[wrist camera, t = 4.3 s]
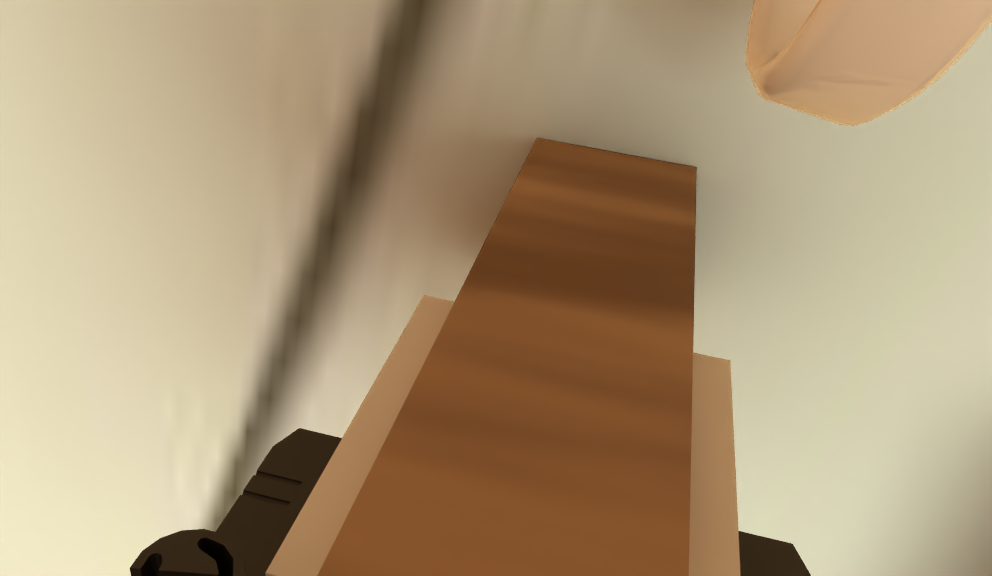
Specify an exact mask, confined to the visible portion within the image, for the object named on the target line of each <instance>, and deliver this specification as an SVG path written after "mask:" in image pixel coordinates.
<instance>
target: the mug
mask: <svg viewBox="0 0 992 576" xmlns="http://www.w3.org/2000/svg"><path fill="white" fill-rule="evenodd" d="M991 21H992V0H754V4H753V9H752V13H751V17H750V22H749V28H748V34H747V43H746V65H747V68H748V71H749V74H750V76H751V79H752V81H753V83H754V86H755V88H756V91H757V93H758V95H760V96H761V97H762V98H763V99H765V100H768V101H771V102H774V103H777V104H780V105H782V106H785V107H788V108H791V109H794V110H797V111H800V112H803V113H806V114H809V115H812V116H815V117H818V118H821V119H824V120H827V121H830V122H833V123H836V124H839V125H847V126H855V125H858V124H861V123H865V122H868V121H871V120H873V119H875V118H877V117H879V116H881V115H883V114H885V113H887V112H890V111H892V110H894V109H896V108H897V107H899V106H901V105H903V104H904V103H906V102H908V101H909V100H911V99H913V98H915V97H916V96H917V95H918V94H920V93H921V92H922V91H924V90H925V89H926V88H927V87H929V86H930V85H931V84H932V83H934V82H935V81H936V80H937V79H939V78H940V77H941V76H942V75H943V74H944V73H945V72H946V71H947V70H948V69H949V68H950V67H951V66H952V65H953V64H954V63H955V62H956V61H957V60H958V59H959V58H960V57H961V56H962V55H963V54H964V53H965V52H966V50H967V49H968V48H969V47H970V46H971V45H972V43H973V42H974V41H975V40H976V39H977V38H978V36H979V35H980V34H981V33H982V32H983V30H984V29H985V28H986V27H987V26H988V25H989V23H990V22H991Z"/></svg>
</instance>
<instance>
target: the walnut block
mask: <svg viewBox="0 0 992 576" xmlns="http://www.w3.org/2000/svg"><path fill="white" fill-rule="evenodd" d="M696 171H697V167H691V166H686V165H681V164H675V163H670V162H664V161H659V160H654V159H648V158H643V157H637V156H632V155H627V154H621V153H616V152H610V151H605V150H600V149H594V148H589V147H583V146H578V145H573V144H567V143H562V142H556V141H551V140H546V139H540V138H537V139H536V141H535V143H534V145H533V147H532V149H531V151H530V153H529V155H528V157H527V159H526V161H525V163H524V165H523V167H522V169H521V171H520V173H519V175H518V177H517V179H516V181H515V183H514V185H513V187H512V189H511V191H510V193H509V195H508V197H507V199H506V201H505V203H504V205H503V207H502V209H501V211H500V213H499V215H498V217H497V219H496V221H495V223H494V225H493V227H492V229H491V231H490V233H489V235H488V237H487V239H486V240H485V242H484V244H483V246H482V248H481V250H480V252H479V254H478V256H477V258H476V260H475V262H474V264H473V266H472V268H471V270H470V272H469V274H468V276H467V278H466V280H465V282H464V284H463V286H462V288H461V290H460V292H459V294H458V296H457V298H456V300H455V302H454V304H453V306H452V308H451V310H450V312H449V314H448V316H447V318H446V320H445V322H444V324H443V326H442V328H441V330H440V332H439V334H438V336H437V338H436V340H435V342H434V344H433V346H432V348H431V350H430V352H429V354H428V356H427V358H426V360H425V362H424V364H423V366H422V368H421V370H420V372H419V374H418V376H417V378H416V380H415V382H414V384H413V386H412V388H411V390H410V392H409V394H408V396H407V398H406V400H405V402H404V404H403V406H402V408H401V410H400V412H399V414H398V416H397V418H396V420H395V422H394V424H393V426H392V428H391V430H390V432H389V434H388V436H387V438H386V440H385V442H384V444H383V446H382V448H381V450H380V452H379V454H378V456H377V458H376V460H375V462H374V464H373V466H372V468H371V470H370V472H369V474H368V476H367V478H366V480H365V482H364V484H363V486H362V488H361V490H360V491H359V493H358V495H357V497H356V499H355V501H354V503H353V505H352V507H351V509H350V511H349V513H348V515H347V517H346V519H345V521H344V523H343V525H342V527H341V529H340V531H339V533H338V535H337V537H336V539H335V541H334V543H333V545H332V547H331V549H330V551H329V553H328V555H327V557H326V559H325V561H324V563H323V565H322V567H321V569H320V571H319V573H318V575H317V576H689V537H690V485H691V433H692V381H693V328H694V276H695V224H696Z"/></svg>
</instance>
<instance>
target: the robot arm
mask: <svg viewBox="0 0 992 576" xmlns="http://www.w3.org/2000/svg"><path fill="white" fill-rule="evenodd" d="M453 304H454V302H453V301H448V300H443V299H439V298H434V297H429V296H425V295H424V296H423V298H422V299H421V301H420V303H419V305H418V306H417V308H416V310H415V312H414V313H413V315H412V317H411V319H410V320H409V322H408V324H407V326H406V327H405V329H404V331H403V333H402V334H401V336H400V338H399V340H398V342H397V343H396V345H395V347H394V349H393V350H392V352H391V354H390V356H389V357H388V359H387V361H386V363H385V364H384V366H383V368H382V370H381V371H380V373H379V375H378V377H377V378H376V380H375V382H374V384H373V385H372V387H371V389H370V391H369V392H368V394H367V396H366V398H365V399H364V401H363V403H362V405H361V406H360V408H359V410H358V412H357V413H356V415H355V417H354V419H353V420H352V422H351V424H350V426H349V427H348V429H347V431H346V433H345V434H344V436H343V438H339V437H334V436H330V435H326V434H322V433H318V432H313V431H309V430H305V429H301V428H299V429H297V430H296V431H295V432H293V433H292V434H290V435H289V436H287V437H286V438H284V439H283V440H282V441H280V442H279V443H277V444H276V445H274V446H273V447H272V449H271V450H270V452H269V453H268V455H267V456H266V458H265V459H264V461H263V462H262V464H261V465H260V467H259V468H258V470H257V473H256V475H253V477H252V478H251V480H250V481H249V483H248V484H247V486H246V487H245V489H244V492H243V494H242V495H240V496H239V498H238V499H237V501H236V502H235V504H234V505H233V507H232V508H231V510H230V511H229V513H228V514H227V516H226V517H225V519H224V520H223V522H222V523H221V525H220V526H219V528H218V529H217V531H216V532H214V531H210V530H205V529H198V530H183V531H179V532H177V533H174V534H171V535H168V536H165V537H162V538H160V539H159V540H157V541H156V542H154V543H153V544H152V545H150V546H149V547H147V548H146V549H144V550H143V551H142V552H141V553H140V555H139V556H138V557H137V559H136V560H135V562H134V563H133V564H132V566H131V567H130V572H131V576H317V575H318V573H319V571H320V569H321V567H322V565H323V563H324V561H325V559H326V557H327V555H328V553H329V551H330V549H331V547H332V545H333V543H334V541H335V539H336V537H337V535H338V533H339V531H340V529H341V527H342V525H343V523H344V521H345V519H346V517H347V515H348V513H349V511H350V509H351V507H352V505H353V503H354V501H355V499H356V497H357V495H358V493H359V491H360V490H361V488H362V486H363V484H364V482H365V480H366V478H367V476H368V474H369V472H370V470H371V468H372V466H373V464H374V462H375V460H376V458H377V456H378V454H379V452H380V450H381V448H382V446H383V444H384V442H385V440H386V438H387V436H388V434H389V432H390V430H391V428H392V426H393V424H394V422H395V420H396V418H397V416H398V414H399V412H400V410H401V408H402V406H403V404H404V402H405V400H406V398H407V396H408V394H409V392H410V390H411V388H412V386H413V384H414V382H415V380H416V378H417V376H418V374H419V372H420V370H421V368H422V366H423V364H424V362H425V360H426V358H427V356H428V354H429V352H430V350H431V348H432V346H433V344H434V342H435V340H436V338H437V336H438V334H439V332H440V330H441V328H442V326H443V324H444V322H445V320H446V318H447V316H448V314H449V312H450V310H451V308H452V306H453ZM689 576H811V575H810V573H809V571H808V570H807V568H806V566H805V564H804V563H803V561H802V559H801V558H800V556H799V554H798V552H797V551H796V549H795V547H794V546H793V544H791V543H787V542H783V541H778V540H774V539H770V538H766V537H762V536H757V535H753V534H749V533H745V532H741V531H738V513H737V492H736V471H735V451H734V430H733V409H732V388H731V367H730V361H729V360H725V359H720V358H715V357H711V356H706V355H701V354H697V353H693V381H692V433H691V485H690V537H689Z"/></svg>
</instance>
